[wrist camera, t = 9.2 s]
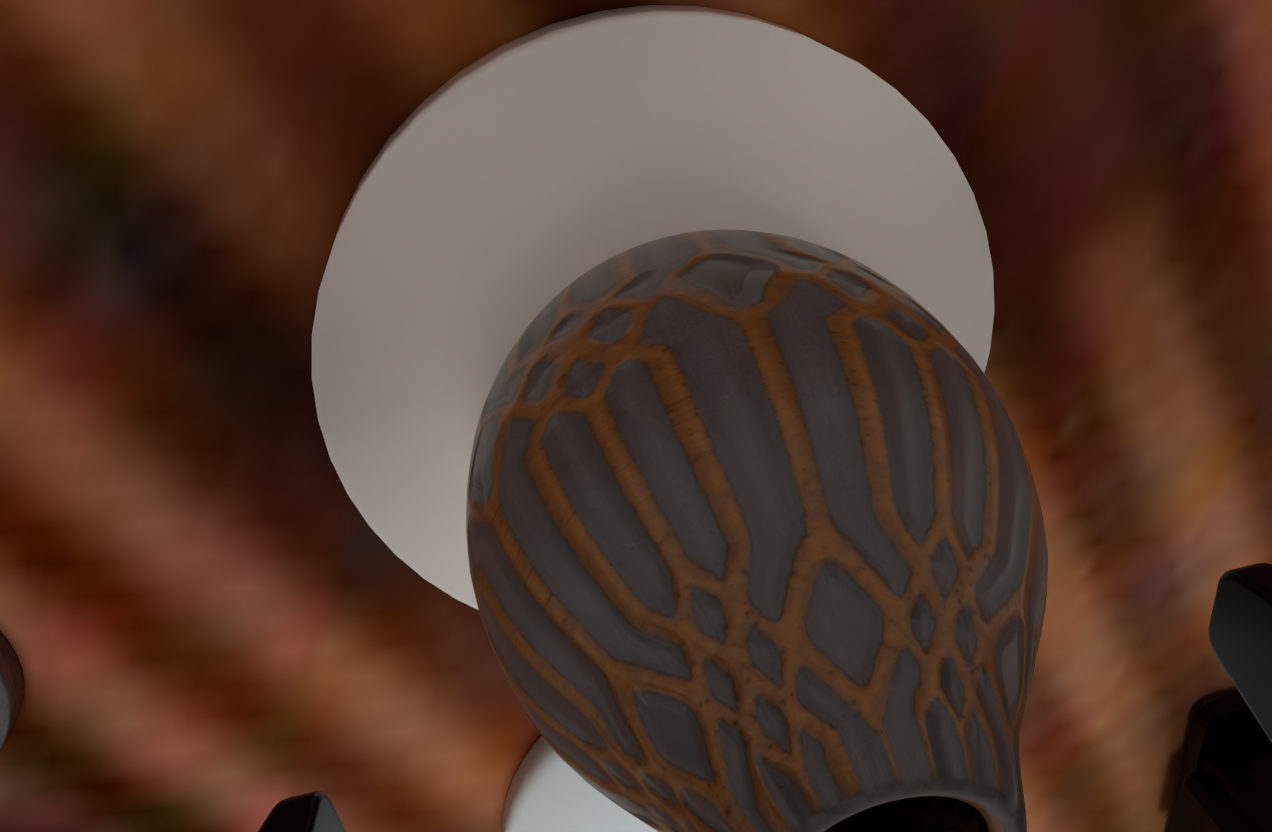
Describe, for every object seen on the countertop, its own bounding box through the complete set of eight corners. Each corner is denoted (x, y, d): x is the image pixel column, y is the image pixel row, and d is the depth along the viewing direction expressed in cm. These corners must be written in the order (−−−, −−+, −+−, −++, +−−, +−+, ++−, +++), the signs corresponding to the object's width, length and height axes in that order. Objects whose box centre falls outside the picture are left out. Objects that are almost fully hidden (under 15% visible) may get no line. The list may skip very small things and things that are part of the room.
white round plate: (955, 582, 20) (981, 620, 19) (948, 883, 26) (968, 925, 25) (446, 703, 20) (446, 749, 19) (554, 984, 25) (558, 1031, 24)
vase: (542, 103, 13) (659, 444, 5) (961, 247, 15) (1467, 635, 7) (415, 510, 16) (377, 1099, 8) (781, 582, 18) (1014, 1102, 10)
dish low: (968, -63, 14) (1009, -57, 13) (956, 528, 19) (983, 565, 18) (211, 88, 13) (190, 107, 12) (427, 651, 19) (425, 697, 18)
